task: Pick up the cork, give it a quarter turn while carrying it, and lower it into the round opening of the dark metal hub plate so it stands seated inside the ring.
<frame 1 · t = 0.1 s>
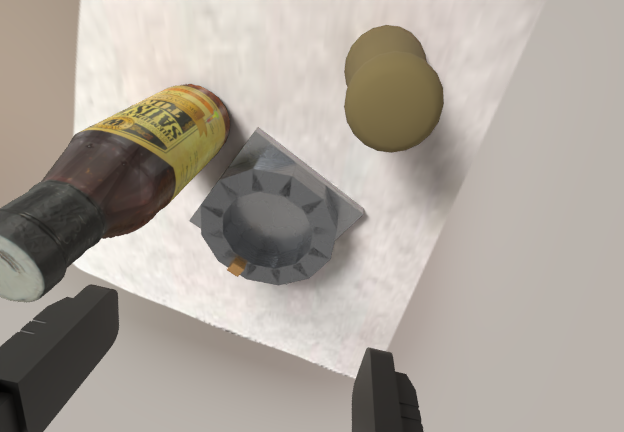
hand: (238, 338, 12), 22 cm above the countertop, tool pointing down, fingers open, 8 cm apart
cork: (384, 69, 28), on the countertop
sauce bottle: (196, 117, 32), on the countertop
hub: (275, 212, 36), on the countertop
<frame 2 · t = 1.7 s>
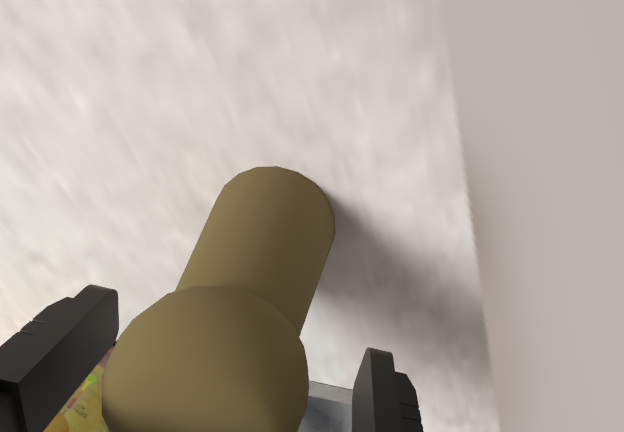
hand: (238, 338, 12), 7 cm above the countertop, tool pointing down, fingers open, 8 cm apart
cork: (274, 223, 18), on the countertop
sauce bottle: (99, 365, 24), on the countertop
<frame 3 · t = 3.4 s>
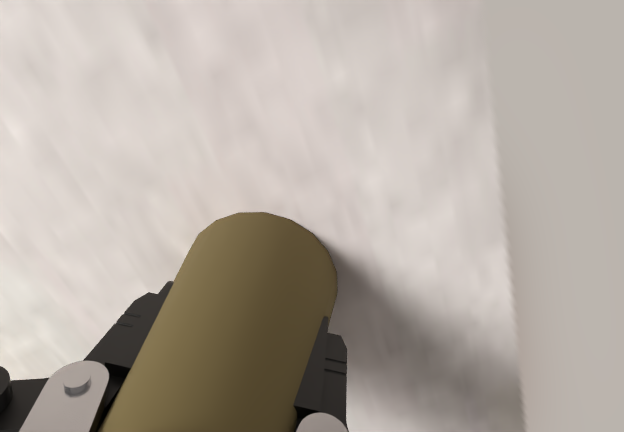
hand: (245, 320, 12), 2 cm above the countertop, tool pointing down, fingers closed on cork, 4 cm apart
cork: (262, 279, 15), on the countertop, touching gripper
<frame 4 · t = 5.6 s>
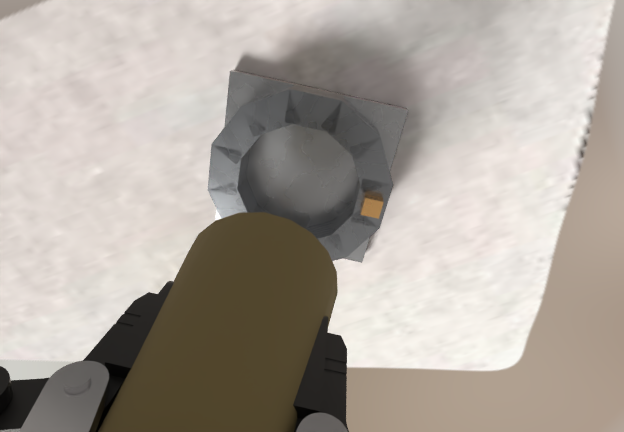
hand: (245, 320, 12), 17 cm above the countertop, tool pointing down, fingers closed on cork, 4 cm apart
cork: (262, 279, 15), point 14 cm above the countertop, touching gripper
hub: (303, 171, 28), on the countertop
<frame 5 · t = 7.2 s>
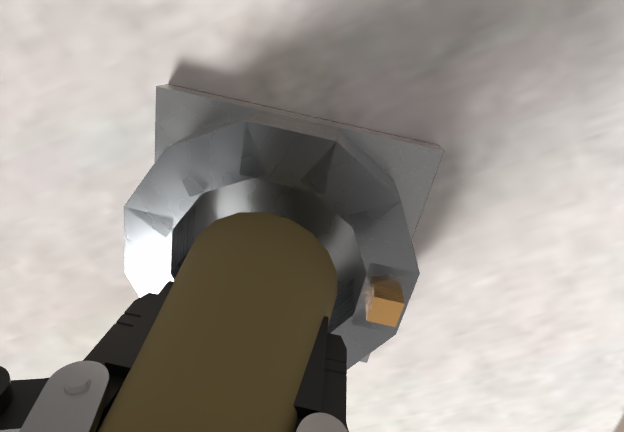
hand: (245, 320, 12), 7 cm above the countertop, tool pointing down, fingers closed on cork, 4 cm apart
cork: (262, 278, 15), point 4 cm above the countertop, touching gripper
hub: (280, 234, 18), on the countertop
when the fingers open (5 cm above the countertop, at t = 8.2 s): cork drops 1 cm, resting on hub.
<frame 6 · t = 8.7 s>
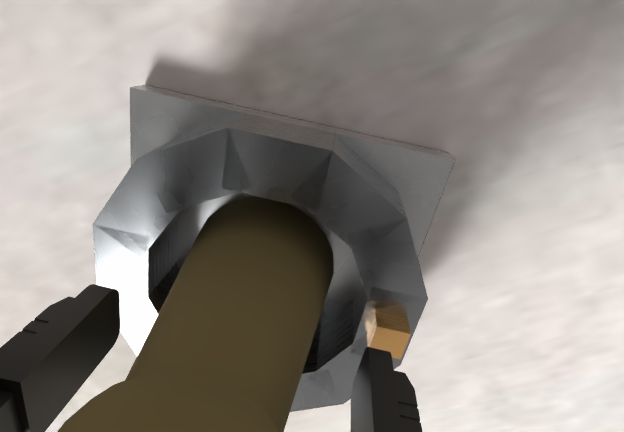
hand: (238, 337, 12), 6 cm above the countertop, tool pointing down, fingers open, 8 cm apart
cork: (265, 260, 16), point 1 cm above the countertop, touching hub
hub: (272, 250, 17), on the countertop
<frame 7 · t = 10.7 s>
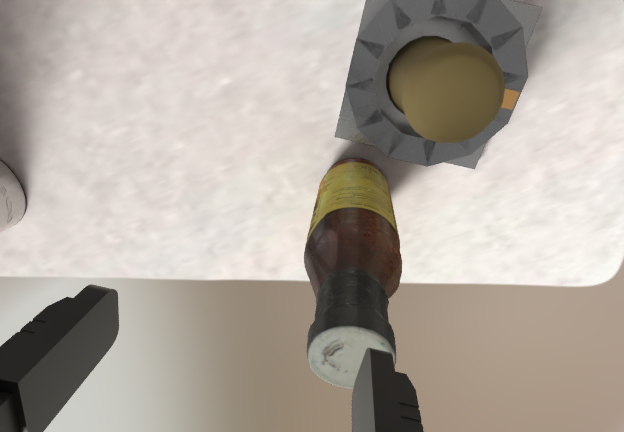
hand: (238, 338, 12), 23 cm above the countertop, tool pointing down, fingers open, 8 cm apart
cork: (425, 78, 28), point 1 cm above the countertop, touching hub
sauce bottle: (355, 189, 34), on the countertop
hub: (426, 77, 29), on the countertop
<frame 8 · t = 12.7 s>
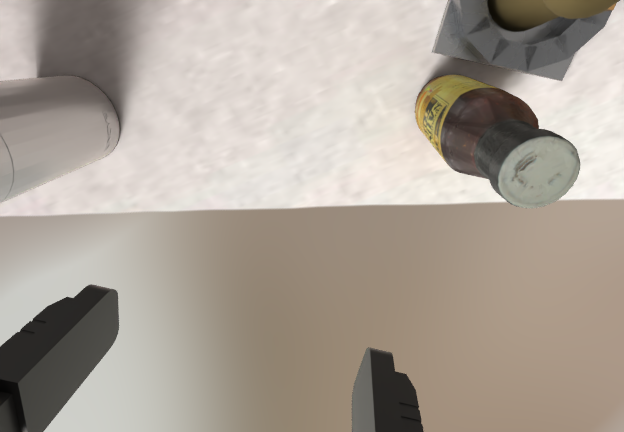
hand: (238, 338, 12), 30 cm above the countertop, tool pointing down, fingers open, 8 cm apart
sauce bottle: (444, 107, 37), on the countertop
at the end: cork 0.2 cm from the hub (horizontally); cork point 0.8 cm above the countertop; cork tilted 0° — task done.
